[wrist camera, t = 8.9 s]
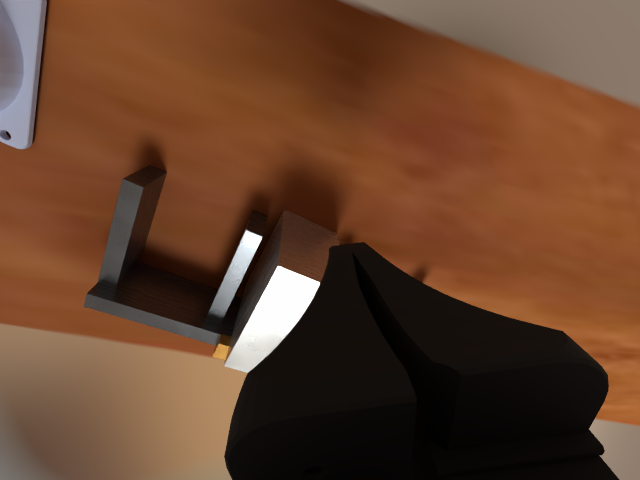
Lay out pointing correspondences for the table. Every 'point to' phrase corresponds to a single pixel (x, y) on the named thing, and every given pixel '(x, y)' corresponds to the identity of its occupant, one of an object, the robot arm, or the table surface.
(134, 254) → the rack
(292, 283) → the grey block
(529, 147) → the table surface
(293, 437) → the robot arm
